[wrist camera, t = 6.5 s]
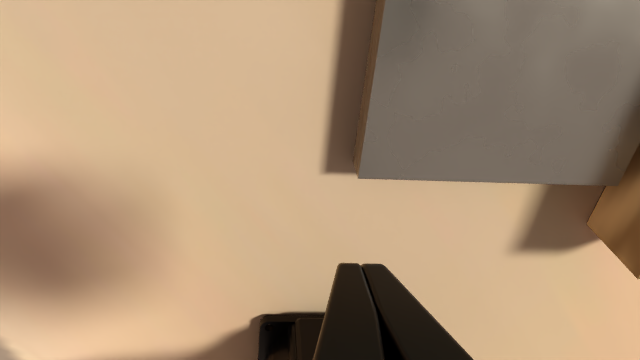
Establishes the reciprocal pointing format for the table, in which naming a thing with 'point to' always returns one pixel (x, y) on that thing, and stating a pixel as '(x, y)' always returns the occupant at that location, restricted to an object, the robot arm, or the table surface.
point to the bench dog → (621, 217)
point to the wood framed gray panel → (501, 91)
